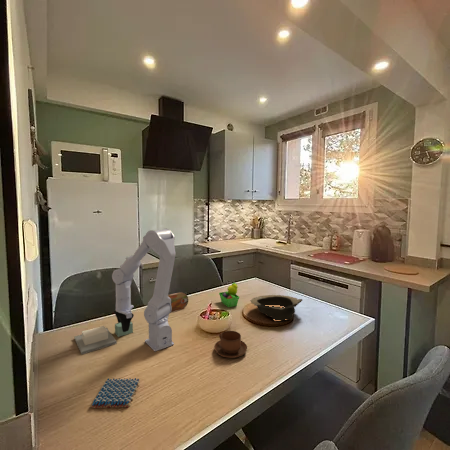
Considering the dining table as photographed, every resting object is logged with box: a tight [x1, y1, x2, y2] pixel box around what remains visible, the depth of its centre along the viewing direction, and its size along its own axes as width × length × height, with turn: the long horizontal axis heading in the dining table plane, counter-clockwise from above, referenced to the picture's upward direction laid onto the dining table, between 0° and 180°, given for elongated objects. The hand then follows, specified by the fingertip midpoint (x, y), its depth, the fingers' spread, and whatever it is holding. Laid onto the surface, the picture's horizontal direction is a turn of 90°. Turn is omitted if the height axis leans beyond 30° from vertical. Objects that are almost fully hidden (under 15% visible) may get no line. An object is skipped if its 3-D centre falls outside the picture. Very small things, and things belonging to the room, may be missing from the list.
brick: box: [114, 321, 134, 338], centre depth 108 cm, size 4×6×4 cm, turn 129°
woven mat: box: [90, 377, 140, 409], centre depth 73 cm, size 10×11×2 cm
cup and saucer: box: [213, 330, 248, 359], centre depth 95 cm, size 12×12×6 cm
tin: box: [168, 291, 189, 313], centre depth 133 cm, size 15×3×8 cm, turn 125°
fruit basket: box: [218, 282, 240, 308], centre depth 141 cm, size 11×9×11 cm
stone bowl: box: [249, 294, 303, 320], centre depth 129 cm, size 25×25×9 cm
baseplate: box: [73, 325, 117, 356], centre depth 101 cm, size 14×12×4 cm
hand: (123, 329), depth 108 cm, fingers closed on brick, 4 cm apart
